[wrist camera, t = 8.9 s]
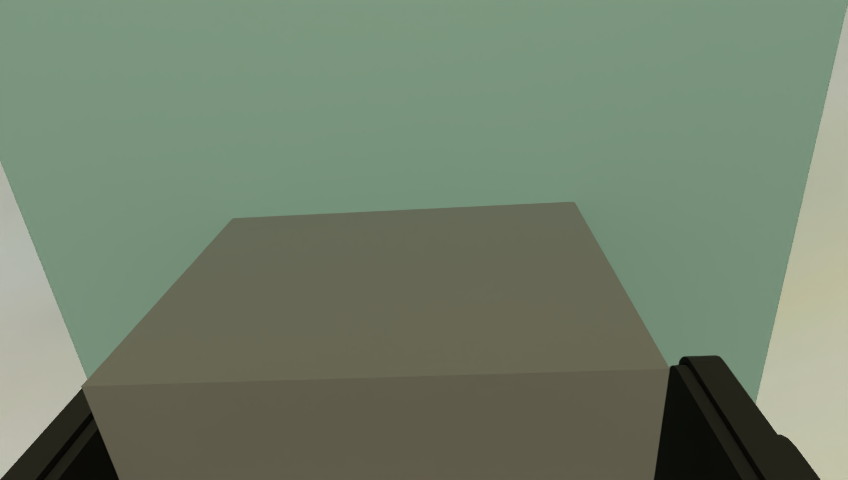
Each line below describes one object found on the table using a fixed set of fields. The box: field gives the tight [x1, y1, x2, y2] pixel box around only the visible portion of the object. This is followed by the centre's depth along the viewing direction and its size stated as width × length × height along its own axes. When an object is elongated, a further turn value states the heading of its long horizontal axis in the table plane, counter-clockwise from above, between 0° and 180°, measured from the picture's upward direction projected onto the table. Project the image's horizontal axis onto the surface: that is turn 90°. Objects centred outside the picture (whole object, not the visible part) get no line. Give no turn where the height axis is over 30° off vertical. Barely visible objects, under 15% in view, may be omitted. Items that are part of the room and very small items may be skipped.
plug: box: [81, 202, 670, 480], centre depth 12 cm, size 7×7×9 cm
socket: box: [0, 0, 848, 404], centre depth 14 cm, size 15×15×4 cm
